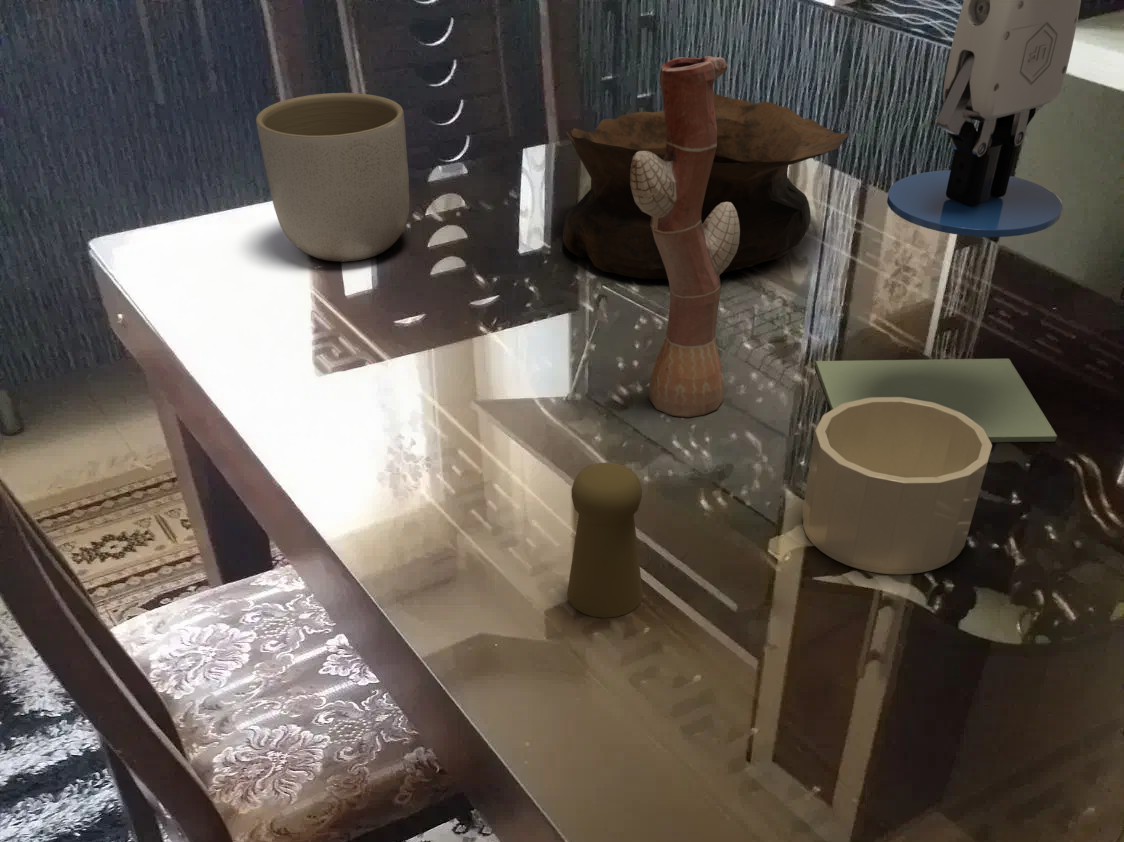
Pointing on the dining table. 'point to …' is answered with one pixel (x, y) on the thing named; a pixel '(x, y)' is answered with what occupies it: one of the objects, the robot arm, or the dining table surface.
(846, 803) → the dining table surface
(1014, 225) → the lid
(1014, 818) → the dining table surface
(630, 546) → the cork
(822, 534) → the pot
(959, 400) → the mat
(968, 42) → the robot arm
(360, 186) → the planter
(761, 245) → the bowl
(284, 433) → the dining table surface
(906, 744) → the dining table surface
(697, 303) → the vase
